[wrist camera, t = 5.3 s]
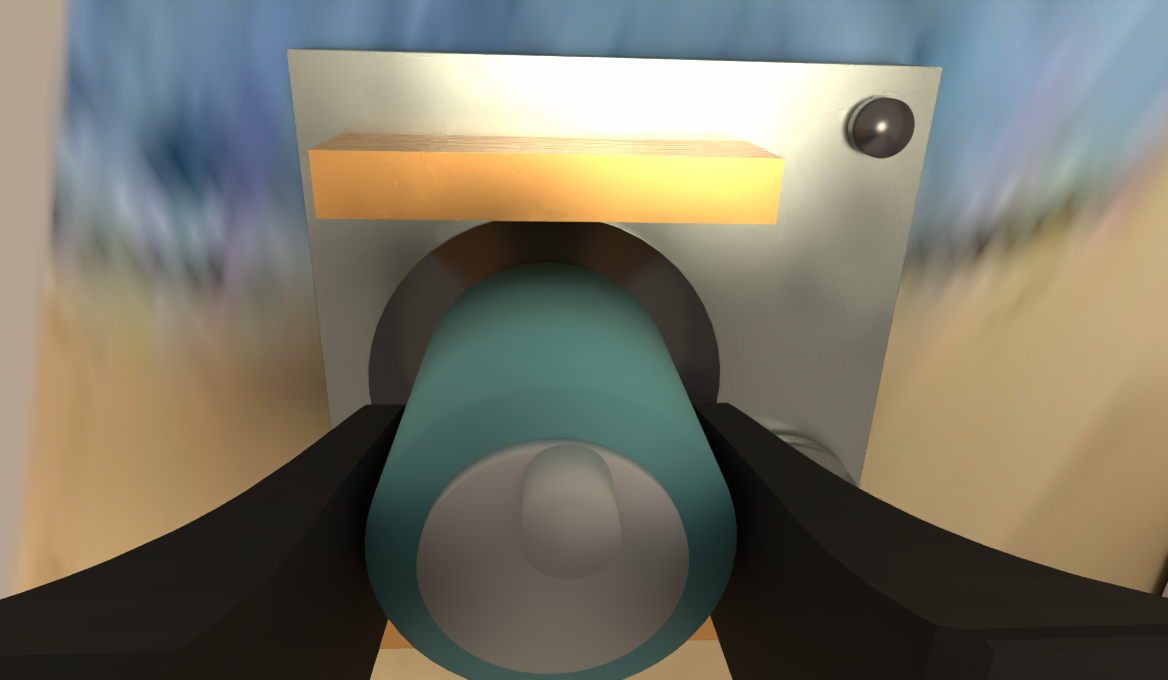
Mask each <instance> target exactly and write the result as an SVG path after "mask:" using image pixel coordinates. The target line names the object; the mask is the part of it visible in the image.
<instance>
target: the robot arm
mask: <svg viewBox="0 0 1168 680" xmlns="http://www.w3.org/2000/svg"><path fill="white" fill-rule="evenodd" d="M691 404H692V406H693V409H694V411H695V413H696V416H697V418H698V420H699V422H700V425H701V427H702V429H703V432H704V434H705V436H706V439H707V441H708V443H709V445H710V448H711V450H712V452H713V455H714V457H715V459H716V461H717V464H718V466H719V468H720V471H721V473H722V475H723V478H724V480H725V482H726V484H727V487H728V489H729V493H730V496H731V499H732V502H733V506H734V510H735V518H736V525H737V546H736V553H735V559H734V564H733V569H732V572H731V574H730V577H729V580H728V583H727V586H726V588H725V590H724V592H723V594H722V596H721V598H720V600H719V602H718V604H717V605H716V607H715V608H714V610H713V611H712V613H711V614H710V617H711V620H712V623H713V625H714V628H715V631H716V634H717V637H718V639H719V642H720V645H721V648H722V651H723V654H724V656H725V659H726V662H727V665H728V668H729V671H730V673H731V676H732V679H733V680H1168V582H1167V585H1166V587H1165V590H1164V592H1163V594H1162V596H1158V595H1154V594H1150V593H1146V592H1142V591H1138V590H1134V589H1130V588H1126V587H1122V586H1118V585H1114V584H1110V583H1106V582H1101V581H1097V580H1093V579H1089V578H1085V577H1081V576H1078V575H1074V574H1071V573H1067V572H1064V571H1061V570H1058V569H1055V568H1051V567H1048V566H1045V565H1042V564H1038V563H1035V562H1032V561H1029V560H1026V559H1022V558H1019V557H1016V556H1013V555H1010V554H1008V553H1005V552H1002V551H999V550H996V549H993V548H990V547H988V546H985V545H982V544H980V543H977V542H975V541H972V540H970V539H967V538H964V537H962V536H959V535H957V534H954V533H952V532H949V531H947V530H944V529H942V528H939V527H937V526H935V525H932V524H930V523H928V522H926V521H923V520H921V519H919V518H917V517H914V516H912V515H910V514H908V513H906V512H904V511H902V510H900V509H898V508H896V507H894V506H892V505H890V504H888V503H886V502H884V501H882V500H880V499H878V498H876V497H874V496H872V495H870V494H868V493H867V492H865V491H863V490H861V489H859V488H858V487H856V486H854V485H852V484H851V483H849V482H847V481H846V480H844V479H842V478H841V477H839V476H837V475H836V474H834V473H832V472H831V471H829V470H827V469H826V468H824V467H823V466H821V465H819V464H818V463H816V462H815V461H813V460H812V459H810V458H809V457H807V456H806V455H804V454H803V453H801V452H799V451H798V450H797V449H795V448H794V447H792V446H791V445H789V444H788V443H786V442H785V441H783V440H782V439H781V438H779V437H778V436H776V435H775V434H773V433H772V432H771V431H769V430H768V429H766V428H765V427H764V426H762V425H761V424H759V423H758V422H757V421H755V420H754V419H752V418H751V417H749V416H748V415H747V414H745V413H744V412H742V411H741V410H739V409H738V408H736V407H734V406H733V405H731V404H729V403H691ZM404 411H405V404H370V405H365V406H363V407H362V408H360V409H359V410H357V411H356V412H354V413H353V414H352V415H350V416H349V417H348V418H347V419H345V420H344V421H343V422H341V423H340V424H339V425H337V426H336V427H335V428H334V429H332V430H331V431H330V432H328V433H327V434H326V435H325V436H323V437H322V438H321V439H319V440H318V441H317V442H315V443H314V444H313V445H311V446H310V447H309V448H307V449H306V450H305V451H303V452H302V453H301V454H299V455H298V456H297V457H295V458H294V459H293V460H291V461H290V462H288V463H287V464H285V465H284V466H282V467H281V468H279V469H278V470H276V471H275V472H273V473H272V474H270V475H269V476H267V477H266V478H264V479H263V480H261V481H260V482H258V483H257V484H255V485H254V486H252V487H251V488H250V489H248V490H247V491H245V492H243V493H242V494H240V495H238V496H237V497H235V498H233V499H232V500H230V501H228V502H227V503H225V504H223V505H221V506H220V507H218V508H216V509H214V510H212V511H211V512H209V513H207V514H205V515H203V516H201V517H200V518H198V519H196V520H194V521H192V522H190V523H188V524H187V525H185V526H183V527H181V528H179V529H177V530H175V531H172V532H170V533H168V534H166V535H164V536H161V537H159V538H157V539H155V540H153V541H150V542H148V543H146V544H144V545H141V546H139V547H137V548H135V549H133V550H130V551H128V552H126V553H124V554H122V555H119V556H117V557H115V558H113V559H110V560H108V561H106V562H103V563H101V564H98V565H96V566H93V567H90V568H88V569H85V570H83V571H80V572H77V573H75V574H72V575H70V576H67V577H65V578H62V579H59V580H56V581H53V582H50V583H48V584H45V585H42V586H39V587H36V588H33V589H31V590H28V591H25V592H22V593H19V594H16V595H13V596H10V597H7V598H4V599H1V600H0V680H370V677H371V674H372V671H373V667H374V664H375V661H376V658H377V654H378V651H379V648H380V645H381V642H382V638H383V635H384V632H385V629H386V625H387V622H388V618H387V616H386V615H385V613H384V611H383V609H382V607H381V606H380V604H379V602H378V600H377V598H376V596H375V593H374V590H373V588H372V585H371V583H370V580H369V575H368V570H367V565H366V561H365V532H366V523H367V517H368V514H369V510H370V507H371V503H372V500H373V497H374V494H375V491H376V488H377V486H378V483H379V480H380V477H381V475H382V472H383V469H384V466H385V463H386V461H387V458H388V455H389V452H390V450H391V447H392V444H393V441H394V438H395V436H396V433H397V430H398V427H399V424H400V422H401V419H402V416H403V413H404Z"/></svg>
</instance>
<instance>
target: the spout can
mask: <svg viewBox="0 0 1168 680" xmlns="http://www.w3.org/2000/svg"><path fill="white" fill-rule="evenodd" d="M736 546H737V525H736V518H735V510H734V506H733V502H732V499H731V496H730V493H729V489H728V487H727V484H726V482H725V480H724V478H723V475H722V473H721V471H720V468H719V466H718V464H717V461H716V459H715V457H714V455H713V452H712V450H711V448H710V445H709V443H708V441H707V439H706V436H705V434H704V432H703V429H702V427H701V425H700V422H699V420H698V418H697V416H696V413H695V411H694V409H693V406H692V404H691V402H690V400H689V397H688V395H687V393H686V390H685V388H684V386H683V383H682V381H681V379H680V377H679V374H678V372H677V370H676V367H675V365H674V363H673V361H672V358H671V356H670V354H669V351H668V349H667V347H666V344H665V342H664V340H663V338H662V335H661V333H660V331H659V329H658V327H657V325H656V323H655V321H654V319H653V318H652V316H651V315H650V313H649V312H648V311H647V309H646V308H645V307H644V306H643V304H642V303H641V302H640V301H639V300H638V299H637V298H636V297H635V296H634V295H633V294H632V293H630V292H629V291H628V290H627V289H626V288H625V287H623V286H622V285H620V284H619V283H617V282H615V281H614V280H612V279H611V278H609V277H607V276H604V275H602V274H600V273H598V272H596V271H593V270H590V269H587V268H584V267H580V266H576V265H570V264H565V263H550V262H543V263H530V264H524V265H519V266H514V267H511V268H508V269H505V270H502V271H499V272H496V273H494V274H492V275H490V276H488V277H486V278H484V279H482V280H480V281H479V282H477V283H476V284H474V285H473V286H471V287H470V288H468V289H467V290H466V291H465V292H464V293H462V294H461V295H460V296H459V297H458V298H457V299H456V300H455V301H454V302H453V303H452V304H451V305H450V307H449V308H448V309H447V310H446V311H445V313H444V314H443V316H442V317H441V319H440V320H439V322H438V324H437V325H436V327H435V330H434V332H433V334H432V336H431V338H430V341H429V344H428V347H427V349H426V352H425V355H424V358H423V361H422V363H421V366H420V369H419V372H418V374H417V377H416V380H415V383H414V386H413V388H412V391H411V394H410V397H409V399H408V402H407V405H406V408H405V411H404V413H403V416H402V419H401V422H400V424H399V427H398V430H397V433H396V436H395V438H394V441H393V444H392V447H391V450H390V452H389V455H388V458H387V461H386V463H385V466H384V469H383V472H382V475H381V477H380V480H379V483H378V486H377V488H376V491H375V494H374V497H373V500H372V503H371V507H370V510H369V514H368V517H367V523H366V532H365V561H366V565H367V570H368V575H369V580H370V583H371V585H372V588H373V590H374V593H375V596H376V598H377V600H378V602H379V604H380V606H381V607H382V609H383V611H384V613H385V615H386V616H387V618H388V619H389V620H390V622H391V623H392V624H393V625H394V627H395V628H396V629H397V631H398V632H399V633H400V634H401V635H402V636H403V637H404V638H405V639H406V640H407V641H408V642H409V643H410V644H411V645H412V646H413V647H414V648H415V649H417V650H418V651H419V652H421V653H422V654H423V655H425V656H426V657H427V658H429V659H430V660H431V661H433V662H435V663H436V664H438V665H440V666H442V667H443V668H445V669H447V670H448V671H450V672H453V673H455V674H457V675H459V676H462V677H464V678H466V679H468V680H622V679H625V678H627V677H630V676H632V675H634V674H637V673H639V672H641V671H643V670H645V669H647V668H649V667H651V666H652V665H654V664H656V663H658V662H660V661H661V660H662V659H664V658H665V657H667V656H668V655H670V654H671V653H673V652H674V651H675V650H677V649H678V648H679V647H680V646H681V645H683V644H684V643H685V642H686V641H687V640H688V639H689V638H691V637H692V636H693V635H694V634H695V632H696V631H697V630H698V629H699V628H700V627H701V626H702V625H703V623H704V622H705V621H706V620H707V619H708V617H709V616H710V614H711V613H712V611H713V610H714V608H715V607H716V605H717V604H718V602H719V600H720V598H721V596H722V594H723V592H724V590H725V588H726V586H727V583H728V580H729V577H730V574H731V572H732V569H733V564H734V559H735V553H736Z"/></svg>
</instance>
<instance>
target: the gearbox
mask: <svg viewBox="0 0 1168 680" xmlns="http://www.w3.org/2000/svg"><path fill="white" fill-rule="evenodd" d="M287 58H288V66H289V75H290V83H291V92H292V100H293V109H294V117H295V126H296V134H297V143H298V151H299V159H300V168H301V176H302V185H303V193H304V202H305V210H306V219H307V227H308V236H309V244H310V253H311V261H312V270H313V278H314V287H315V295H316V304H317V312H318V321H319V329H320V338H321V346H322V355H323V363H324V371H325V380H326V388H327V397H328V405H329V414H330V422H331V430H332V429H334V428H335V427H336V426H337V425H339V424H340V423H341V422H343V421H344V420H345V419H347V418H348V417H349V416H350V415H352V414H353V413H354V412H356V411H357V410H359V409H360V408H362V407H363V406H365V405H370V404H405V408H406V405H407V402H408V399H409V397H410V394H411V391H412V388H413V386H414V383H415V380H416V377H417V374H418V372H419V369H420V366H421V363H422V361H423V358H424V355H425V352H426V349H427V347H428V344H429V341H430V338H431V336H432V334H433V332H434V330H435V327H436V325H437V324H438V322H439V320H440V319H441V317H442V316H443V314H444V313H445V311H446V310H447V309H448V308H449V307H450V305H451V304H452V303H453V302H454V301H455V300H456V299H457V298H458V297H459V296H460V295H461V294H462V293H464V292H465V291H466V290H467V289H468V288H470V287H471V286H473V285H474V284H476V283H477V282H479V281H480V280H482V279H484V278H486V277H488V276H490V275H492V274H494V273H496V272H499V271H502V270H505V269H508V268H511V267H514V266H519V265H524V264H530V263H543V262H550V263H565V264H570V265H576V266H580V267H584V268H587V269H590V270H593V271H596V272H598V273H600V274H602V275H604V276H607V277H609V278H611V279H612V280H614V281H615V282H617V283H619V284H620V285H622V286H623V287H625V288H626V289H627V290H628V291H629V292H630V293H632V294H633V295H634V296H635V297H636V298H637V299H638V300H639V301H640V302H641V303H642V304H643V306H644V307H645V308H646V309H647V311H648V312H649V313H650V315H651V316H652V318H653V319H654V321H655V323H656V325H657V327H658V329H659V331H660V333H661V335H662V338H663V340H664V342H665V344H666V347H667V349H668V351H669V354H670V356H671V358H672V361H673V363H674V365H675V367H676V370H677V372H678V374H679V377H680V379H681V381H682V383H683V386H684V388H685V390H686V393H687V395H688V397H689V400H690V402H691V403H729V404H731V405H733V406H734V407H736V408H738V409H739V410H741V411H742V412H744V413H745V414H747V415H748V416H749V417H751V418H752V419H754V420H755V421H757V422H758V423H759V424H761V425H762V426H764V427H765V428H766V429H768V430H769V431H771V432H772V433H773V434H775V435H776V436H778V437H779V438H781V439H782V440H783V441H785V442H786V443H788V444H789V445H791V446H792V447H794V448H795V449H797V450H798V451H799V452H801V453H803V454H804V455H806V456H807V457H809V458H810V459H812V460H813V461H815V462H816V463H818V464H819V465H821V466H823V467H824V468H826V469H827V470H829V471H831V472H832V473H834V474H836V475H837V476H839V477H841V478H842V479H844V480H846V481H847V482H849V483H851V484H852V485H854V486H856V487H858V488H859V484H860V479H861V474H862V469H863V464H864V459H865V454H866V449H867V444H868V439H869V433H870V428H871V423H872V418H873V413H874V408H875V403H876V398H877V393H878V388H879V383H880V378H881V373H882V368H883V363H884V358H885V353H886V348H887V343H888V338H889V333H890V328H891V323H892V318H893V313H894V308H895V303H896V298H897V293H898V288H899V283H900V278H901V273H902V268H903V263H904V258H905V253H906V248H907V243H908V238H909V233H910V228H911V223H912V218H913V213H914V208H915V203H916V198H917V193H918V188H919V183H920V178H921V173H922V168H923V163H924V158H925V153H926V148H927V143H928V138H929V133H930V128H931V123H932V118H933V113H934V108H935V103H936V98H937V93H938V88H939V83H940V78H941V73H942V68H943V67H932V66H919V65H906V64H876V63H840V62H804V61H768V60H732V59H697V58H661V57H625V56H589V55H553V54H517V53H481V52H445V51H409V50H373V49H337V48H299V49H287ZM688 640H719V639H718V637H717V634H716V631H715V628H714V625H713V623H712V620H711V617H710V616H709V617H708V619H707V620H706V621H705V622H704V623H703V625H702V626H701V627H700V628H699V629H698V630H697V631H696V632H695V634H694V635H693V636H692V637H691V638H689V639H688ZM392 648H414V647H413V646H412V645H411V644H410V643H409V642H408V641H407V640H406V639H405V638H404V637H403V636H402V635H401V634H400V633H399V632H398V631H397V629H396V628H395V627H394V625H393V624H392V623H391V622H390V620H389V619H388V622H387V625H386V629H385V632H384V635H383V638H382V642H381V645H380V648H379V649H392Z"/></svg>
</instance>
